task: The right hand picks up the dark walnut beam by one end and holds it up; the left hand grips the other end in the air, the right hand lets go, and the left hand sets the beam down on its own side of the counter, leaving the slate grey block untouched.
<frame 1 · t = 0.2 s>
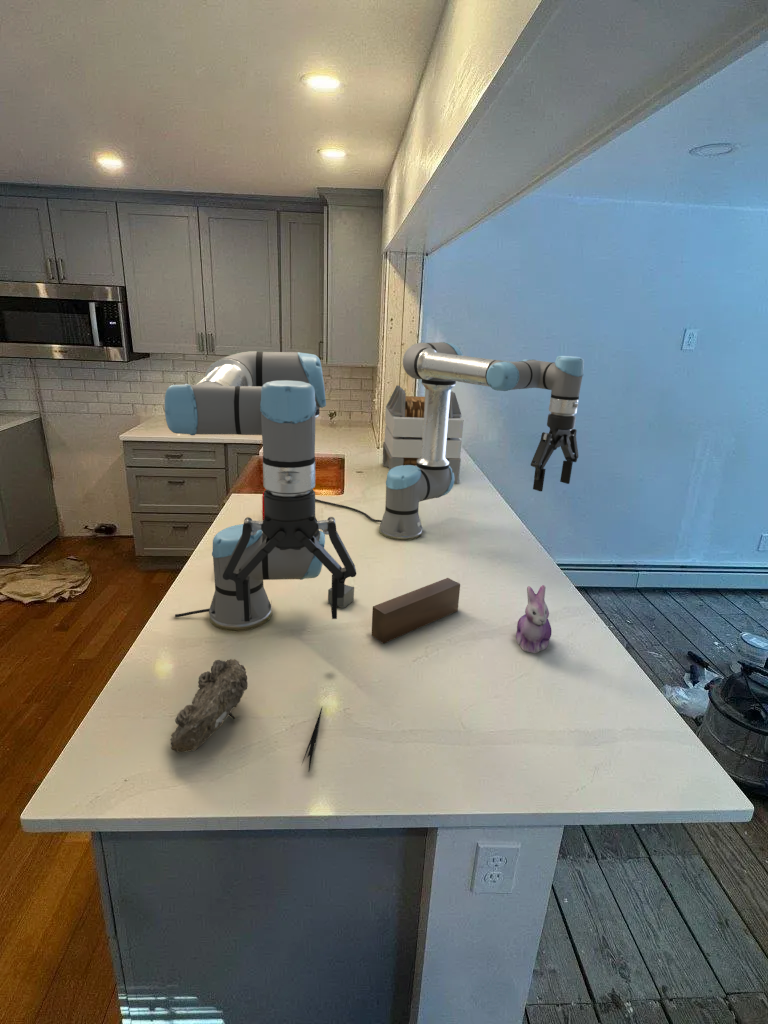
left hand: (291, 616, 91), 28 cm above the counter, fingers open, 13 cm apart
right hand: (551, 486, 165), 28 cm above the counter, fingers open, 13 cm apart
toy: (281, 517, 210), on the counter
figurine: (532, 643, 137), on the counter
fossil: (215, 716, 108), on the counter
walnut beam: (416, 622, 144), on the counter
slate block: (341, 601, 152), on the counter
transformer: (418, 473, 275), on the counter
feather: (319, 719, 109), on the counter
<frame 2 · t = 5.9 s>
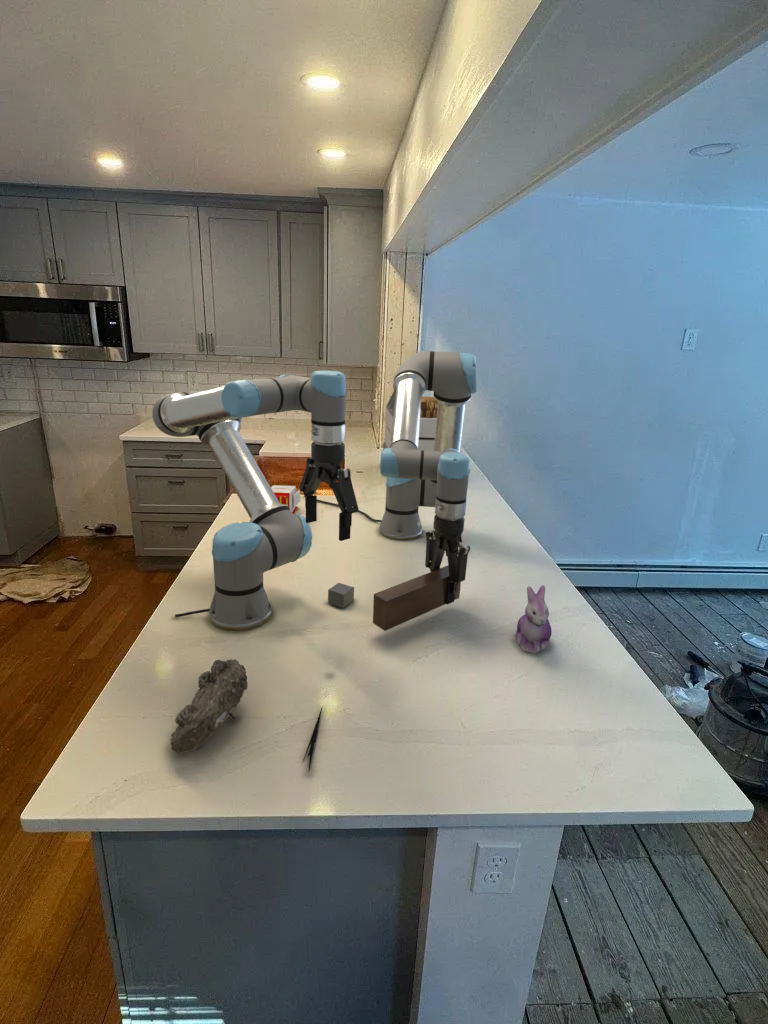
left hand: (327, 530, 134), 25 cm above the counter, fingers open, 13 cm apart
right hand: (442, 598, 149), 4 cm above the counter, fingers closed on walnut beam, 4 cm apart
walnut beam: (418, 610, 143), point 3 cm above the counter, touching right hand
everything else where it was.
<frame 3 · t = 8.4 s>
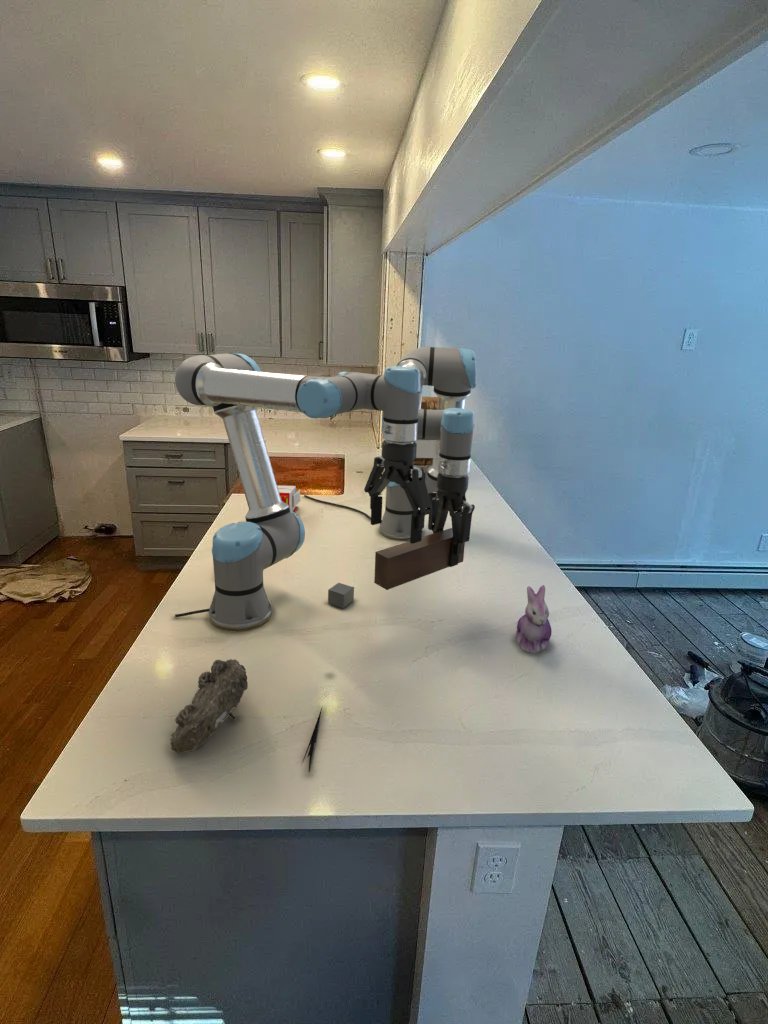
left hand: (395, 532, 129), 27 cm above the counter, fingers open, 13 cm apart
right hand: (445, 561, 145), 15 cm above the counter, fingers closed on walnut beam, 4 cm apart
walnut beam: (420, 571, 139), point 14 cm above the counter, touching right hand
everything else where it was.
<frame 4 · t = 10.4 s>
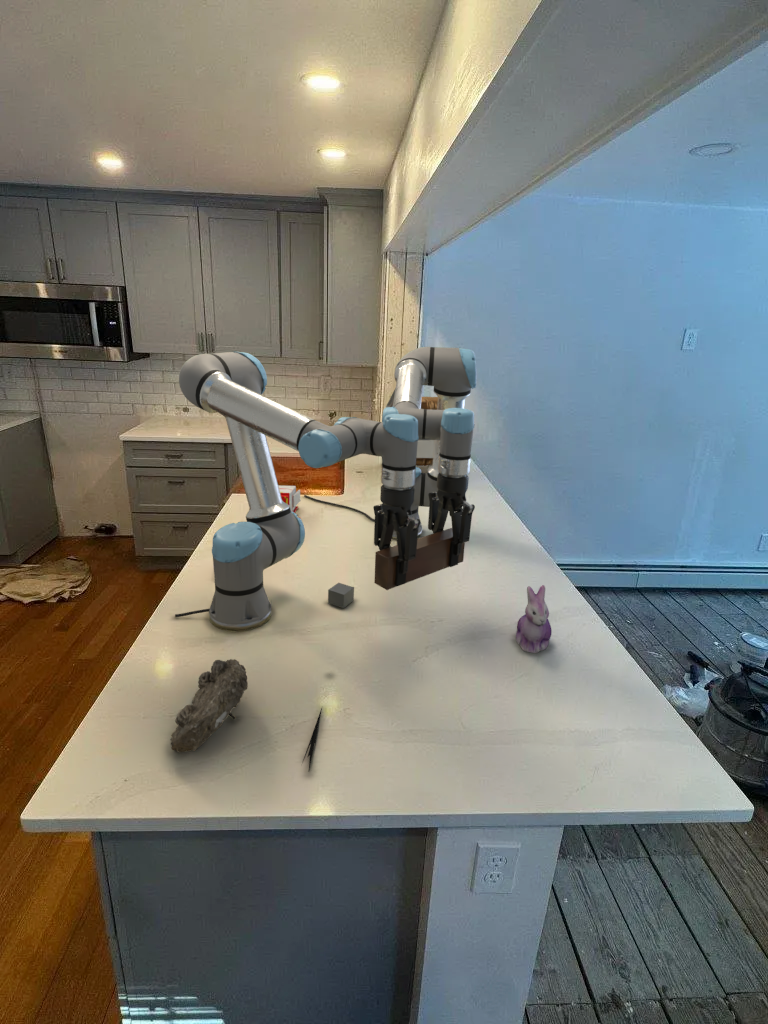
left hand: (392, 580, 133), 15 cm above the counter, fingers closed on walnut beam, 4 cm apart
right hand: (445, 561, 145), 15 cm above the counter, fingers closed on walnut beam, 4 cm apart
walnut beam: (420, 571, 139), point 14 cm above the counter, touching right hand, left hand
everything else where it was.
when the right hand's fingers open (15 cm above the counter, at t = 11.1 s): walnut beam stays where it is, held by the left hand.
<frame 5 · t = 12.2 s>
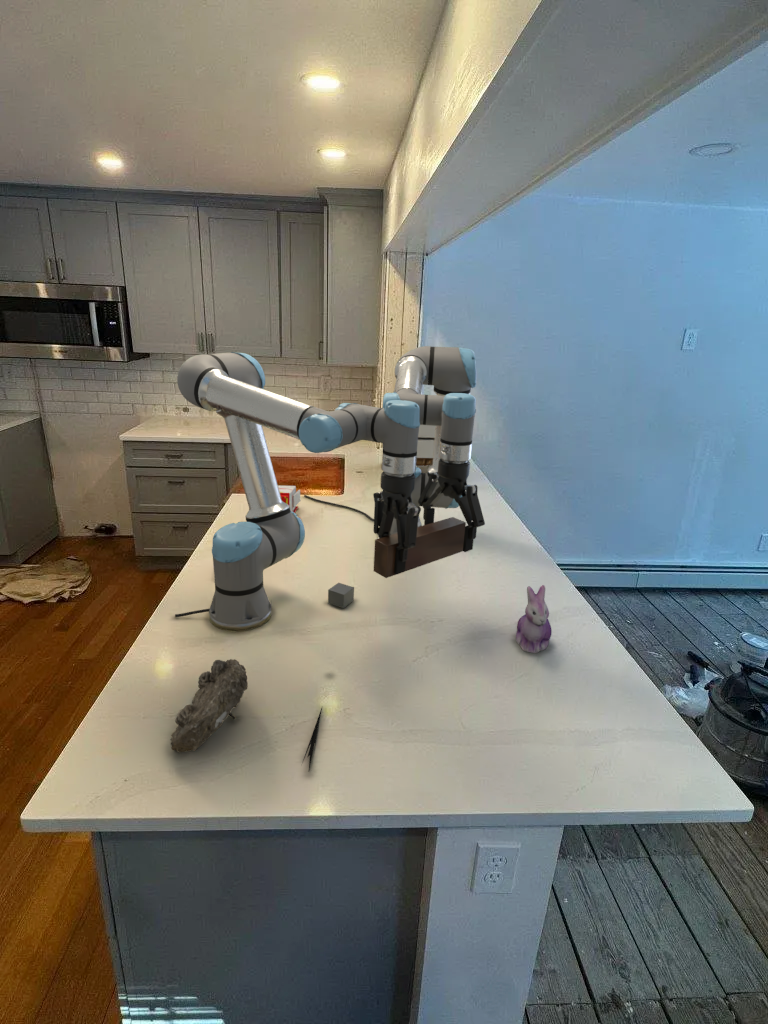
left hand: (392, 568, 132), 18 cm above the counter, fingers closed on walnut beam, 4 cm apart
right hand: (447, 541, 143), 20 cm above the counter, fingers open, 13 cm apart
walnut beam: (420, 560, 138), point 17 cm above the counter, touching left hand
everything else where it was.
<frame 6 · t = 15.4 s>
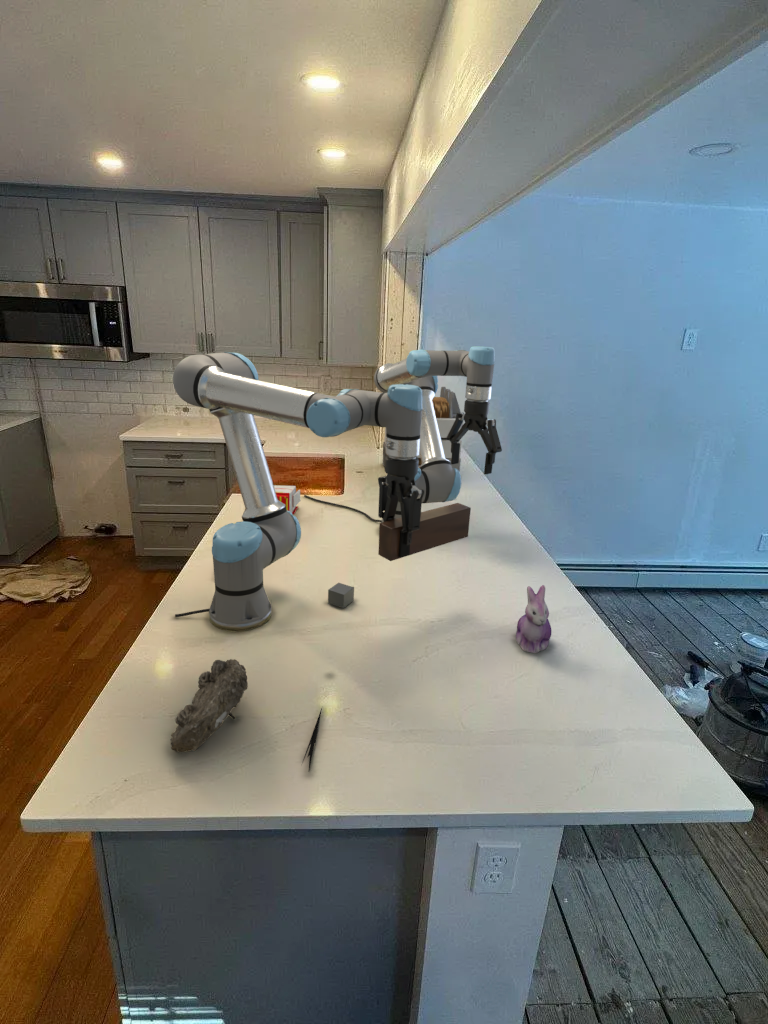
left hand: (396, 551, 134), 21 cm above the counter, fingers closed on walnut beam, 4 cm apart
right hand: (470, 468, 177), 29 cm above the counter, fingers open, 13 cm apart
walnut beam: (425, 545, 140), point 20 cm above the counter, touching left hand
everything else where it was.
when the left hand's fingers open (2 cm above the counter, at t = 20.5 s): walnut beam drops 1 cm, on the counter.
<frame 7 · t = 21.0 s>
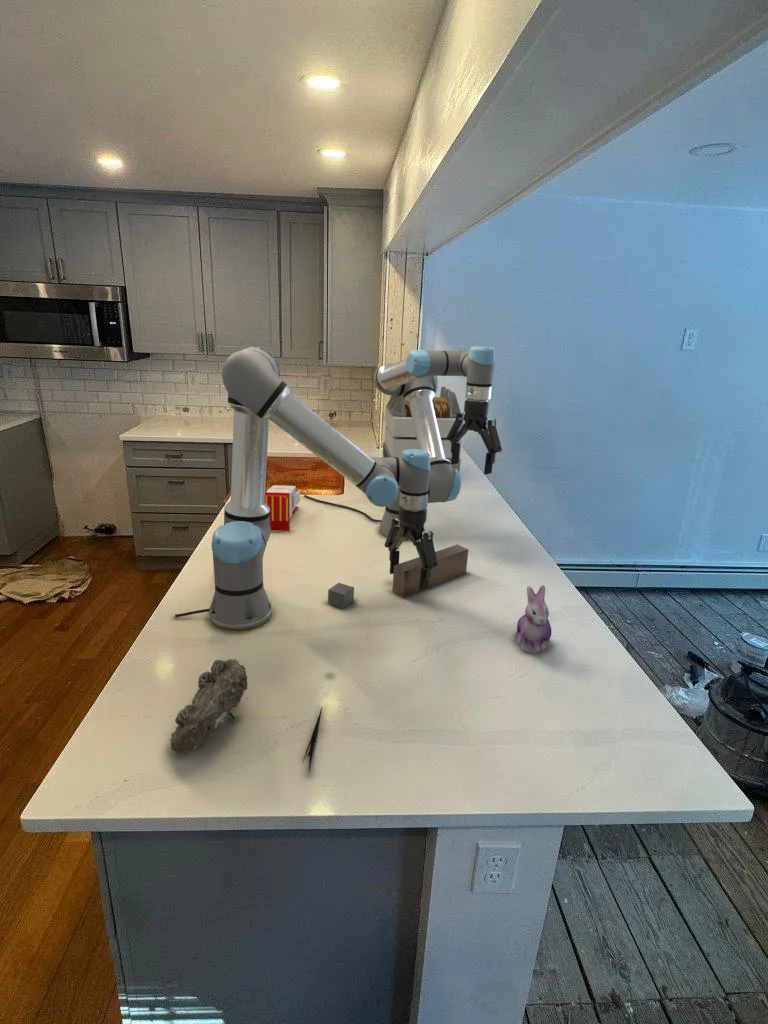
left hand: (408, 580, 159), 3 cm above the counter, fingers open, 11 cm apart
right hand: (470, 468, 177), 29 cm above the counter, fingers open, 13 cm apart
walnut beam: (430, 582, 166), on the counter
everything else where it was.
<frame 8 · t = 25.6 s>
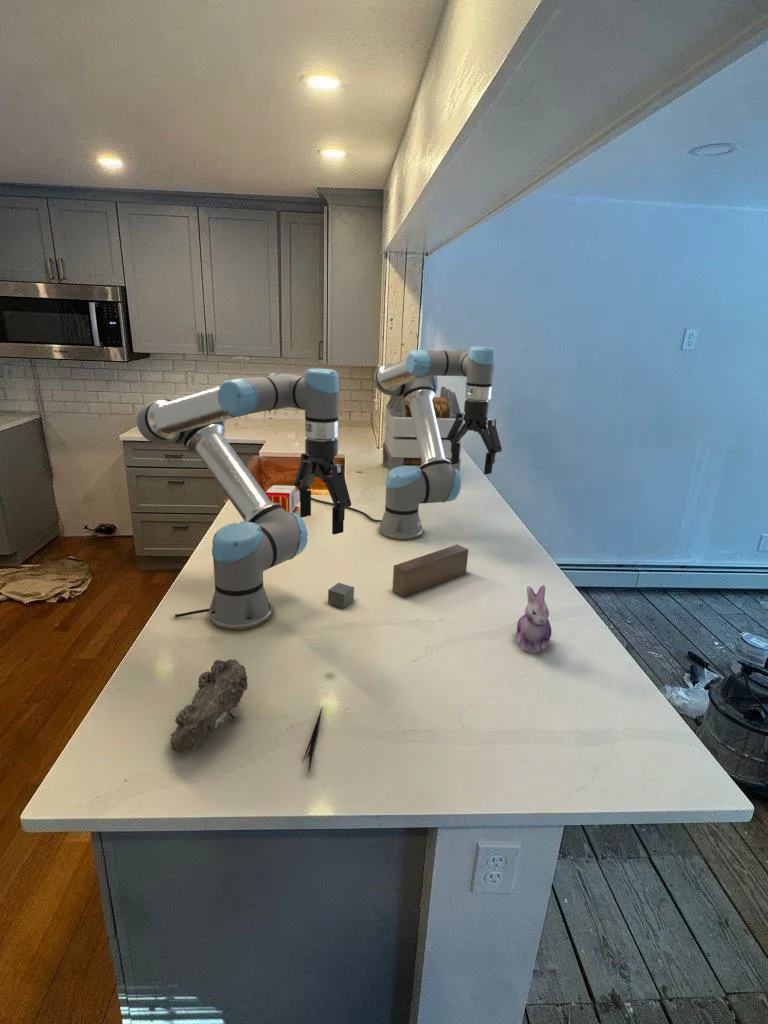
left hand: (321, 524, 138), 25 cm above the counter, fingers open, 13 cm apart
right hand: (470, 468, 177), 29 cm above the counter, fingers open, 13 cm apart
nothing on the counter moved.
at the end: walnut beam inside the target area (0.1 cm from its centre), on the counter; both hands held the walnut beam at the same time; the left hand is holding nothing; the right hand is holding nothing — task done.
